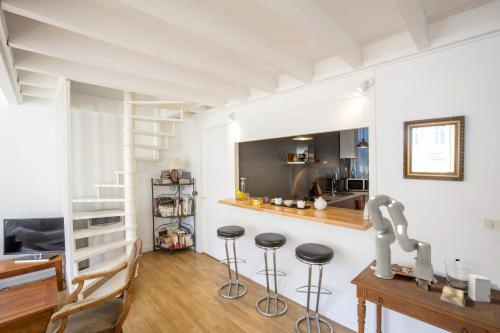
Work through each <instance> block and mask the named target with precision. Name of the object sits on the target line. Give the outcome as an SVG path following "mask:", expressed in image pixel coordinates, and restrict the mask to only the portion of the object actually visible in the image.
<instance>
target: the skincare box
mask: <svg viewBox="0 0 500 333" xmlns="http://www.w3.org/2000/svg"><path fill="white" fill-rule="evenodd" d="M467 276H468V277H467V278H468V284H467V285H468V287H467V288H468V290H467V293H468V294H467V297H469V298H470V299H471V300H473V301H474V302H481V303H483V302H484V303H491V281H492V280H491V279H490V278H489V277H486V276H485V275H481V274H479V275H478V274H471V273H468V275H467Z"/></svg>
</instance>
